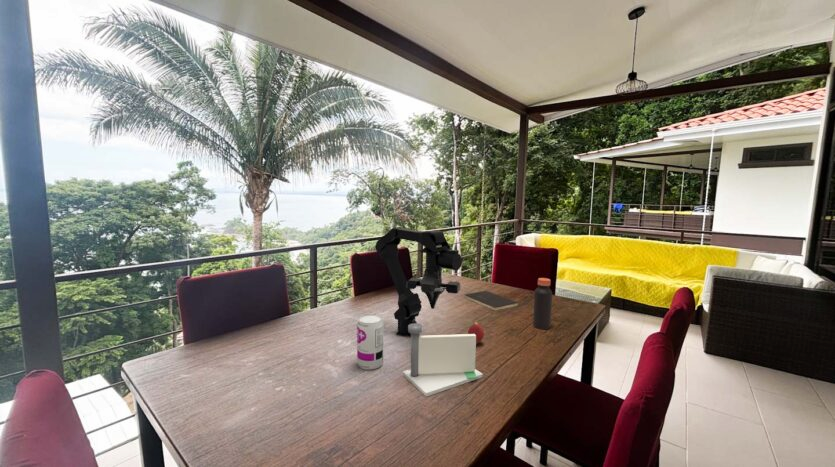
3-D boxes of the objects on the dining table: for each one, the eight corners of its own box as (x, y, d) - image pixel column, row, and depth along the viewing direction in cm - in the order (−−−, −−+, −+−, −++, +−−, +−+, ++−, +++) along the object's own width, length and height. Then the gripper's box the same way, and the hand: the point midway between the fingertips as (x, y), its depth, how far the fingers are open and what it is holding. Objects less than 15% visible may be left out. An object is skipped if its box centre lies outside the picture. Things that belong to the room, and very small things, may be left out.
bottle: (547, 323, 145) (550, 277, 143) (552, 330, 139) (555, 281, 136) (531, 322, 146) (533, 277, 144) (535, 329, 139) (537, 281, 137)
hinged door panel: (408, 378, 99) (408, 328, 97) (407, 371, 103) (407, 323, 101) (475, 375, 101) (477, 326, 99) (472, 368, 105) (474, 321, 103)
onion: (483, 347, 122) (484, 326, 121) (467, 346, 123) (467, 324, 122) (483, 341, 128) (484, 320, 127) (468, 339, 129) (468, 318, 128)
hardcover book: (494, 312, 161) (494, 307, 160) (463, 298, 180) (464, 294, 180) (518, 306, 169) (519, 302, 168) (487, 294, 188) (487, 290, 188)
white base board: (428, 398, 91) (428, 394, 91) (402, 374, 103) (402, 370, 103) (485, 378, 102) (486, 374, 102) (457, 358, 114) (457, 354, 114)
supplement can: (362, 373, 104) (361, 325, 102) (354, 361, 111) (353, 316, 109) (387, 367, 108) (387, 321, 106) (377, 356, 115) (377, 312, 113)
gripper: (400, 268, 118) (400, 312, 119) (454, 273, 112) (453, 319, 113) (411, 262, 128) (411, 302, 130) (461, 266, 122) (460, 308, 124)
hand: (432, 308), depth 124 cm, fingers closed
